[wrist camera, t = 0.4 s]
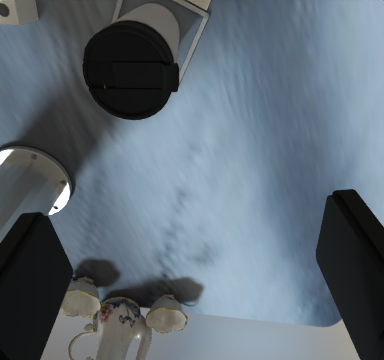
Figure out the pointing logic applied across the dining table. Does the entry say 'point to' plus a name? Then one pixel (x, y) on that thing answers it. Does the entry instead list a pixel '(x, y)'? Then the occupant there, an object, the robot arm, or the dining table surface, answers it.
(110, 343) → the chinaware
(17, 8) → the die
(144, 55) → the travel mug
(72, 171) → the dining table surface
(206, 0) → the game board
